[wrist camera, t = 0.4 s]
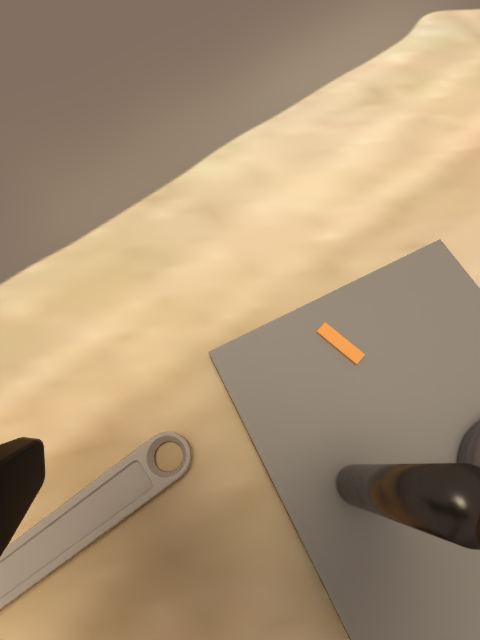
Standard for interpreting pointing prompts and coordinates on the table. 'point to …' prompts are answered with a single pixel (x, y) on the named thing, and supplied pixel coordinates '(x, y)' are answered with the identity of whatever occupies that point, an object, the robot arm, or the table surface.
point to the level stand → (370, 434)
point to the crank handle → (422, 492)
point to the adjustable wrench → (87, 517)
